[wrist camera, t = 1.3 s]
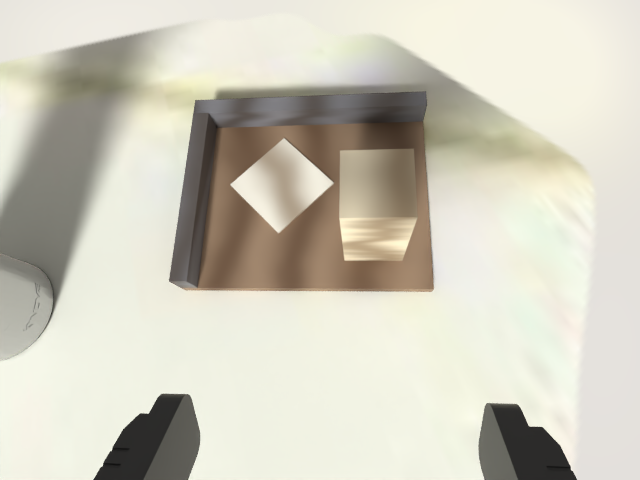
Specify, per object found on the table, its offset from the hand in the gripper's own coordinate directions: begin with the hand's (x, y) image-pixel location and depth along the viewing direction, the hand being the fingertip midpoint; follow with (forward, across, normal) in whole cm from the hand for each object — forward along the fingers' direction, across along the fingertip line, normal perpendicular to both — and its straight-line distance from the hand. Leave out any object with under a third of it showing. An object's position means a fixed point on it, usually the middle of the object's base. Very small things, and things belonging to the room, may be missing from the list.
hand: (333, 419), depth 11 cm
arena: (+29, +4, +4) cm, 30 cm away
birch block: (+26, -2, +6) cm, 26 cm away
